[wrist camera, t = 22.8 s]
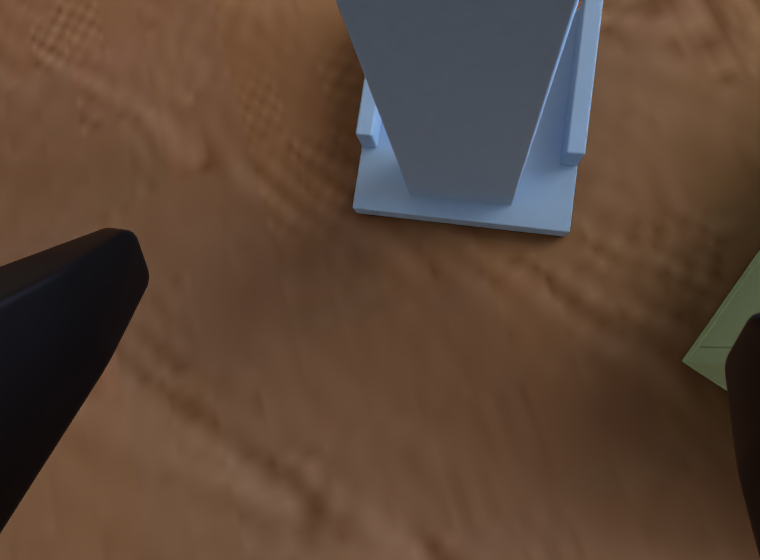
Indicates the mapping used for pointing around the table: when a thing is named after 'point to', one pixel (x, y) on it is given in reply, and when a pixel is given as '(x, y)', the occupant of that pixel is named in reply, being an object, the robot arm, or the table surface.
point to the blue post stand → (473, 109)
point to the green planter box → (726, 326)
